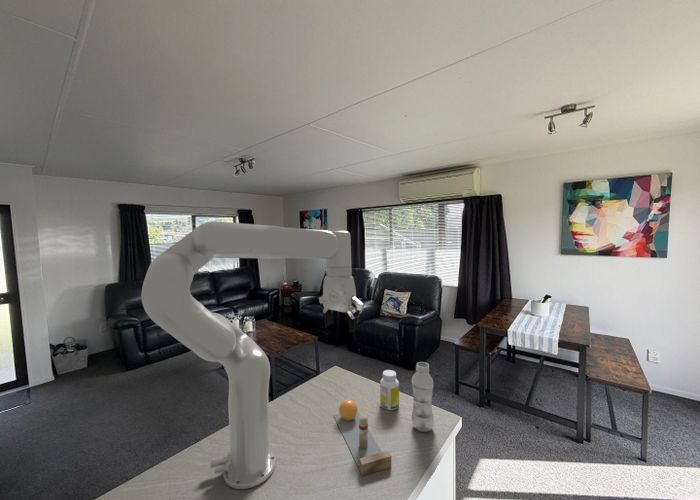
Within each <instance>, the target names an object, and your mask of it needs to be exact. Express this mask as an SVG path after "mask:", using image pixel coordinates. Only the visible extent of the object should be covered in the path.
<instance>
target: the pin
mask: <svg viewBox="0 0 700 500" xmlns="http://www.w3.org/2000/svg"><path fill="white" fill-rule="evenodd" d="M368 420H369V418H368V415H365V414H361V415H360V416H359V447H360V448H361V449H367V447H368V430H369V421H368Z"/></svg>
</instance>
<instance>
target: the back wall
mask: <svg viewBox="0 0 700 500" xmlns="http://www.w3.org/2000/svg"><path fill="white" fill-rule="evenodd" d="M390 468H392V455H391V453H390V451H389V450H385V451H382V452H381V453H377V454H374V455H370V456H367V457H363V458H360V459H359V467H358V469H359V470H358V471H359V472H360V475H361V476H362V477H365V476H367V475H371V474H374V473H378V472H380V471H383V470H387V469H390Z"/></svg>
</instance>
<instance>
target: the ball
mask: <svg viewBox="0 0 700 500" xmlns="http://www.w3.org/2000/svg"><path fill="white" fill-rule="evenodd" d="M338 407H339V408H338V413H339V414H340V416H341V417H342V418H343V419H344V420H346V421H350V420H353V419H354V418H355V417H356V415H357V412H358V410H359V409H358V406H357V404H356V402H355V401H354V400H352V399H349V398H348V399H345V400H343V401H342V402H341V403H340V405H339V406H338Z"/></svg>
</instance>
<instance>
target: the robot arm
mask: <svg viewBox="0 0 700 500" xmlns="http://www.w3.org/2000/svg"><path fill="white" fill-rule="evenodd" d="M351 238H352V237H351V233H350V232H349V231H348V230H332V231H331V230H324V229H313V228H312V229H311V228H310V229H309V228H297V227H296V228H295V227H285V226H279V225H271V224H270V225H267V224H255V223H254V224H253V223H243V222H229V221H228V222H227V221H207V222H204V223H201V224H199V225H198V226H197V227H195V228H194V229H193V230H192V231H190V232H189V233H187V234H186V235H185V236H183V237H182V238H181V239H180V240H178V241H177V242H175V243H174V244H172V245H171V246H170V247H169V248H167V249H166V250H164V251H163V252H161V253H160V254H158V256H156V257H155V258H154V259H152V261H151V263H150V264H149V267H148V269H147V271H146V274H145V277H144V280H143V283H142V286H141V287H142V288H141V303H142V307H143V309H144V312H145V313H146V315H147V316H148V317H149V319H151V321H153V323H154V324H156V325H158V327H160V328H161V329H162V330H164V331H165V332H166V333H168V334H170V336H172V337H173V338H174V339H176V340H177V341H178V342H180V343H181V344H182V345H184V346H185V347H186V348H188V349H189V350H190V351H192V352H193V353H194V354H196V355H197V356H198V358H201V359H202V360H205V361H208V362H215V363H216V362H218V363H220V365H222V366H223V368H224V369H225V372H226V374H227V376H228V396H227V397H228V400H227V402H228V403H227V404H228V406H227V407H228V409H227V410H228V433H229V434H228V437H229V439H228V440H229V449H228V453H225V454H224V455H223V456H219V457H215V458H211V459H210V466H209V467H210V469H214V474H218V473H221V472H223V480H224V482H225V483H226V485H228V487H230V488H232V489H235V490H246V489H251V488H254V487H257V486H259V485H260V484H262V483H264V482H265V481H266V480H267V479H268V478H269V477H270V476H271V475H272V473H274V471H275V468H276V464H277V458H276V454H275V452H274V451H273V450H272V449H270V418H269V417H270V414H269V411H270V410H269V409H270V408H269V407H270V406H269V388H270V387H269V385H270V376H271V364H270V361H269V357H268V356H267V353H265V352H264V350H263V349H262V348H261V347H260V345H258V344H257V343H256V342H255V341H254V340H253V339H252V338H251V337H249V335H247V334H246V333H245V332H244V331H242V329H240V328H239V327H237V325H235V324H234V323H232V322H231V321H230V320H229V319H228V318H226V317H225V316H224V315H222V314H220V313H216V312H212V311H210V310H209V309H208V308H206V307H205V306H204V304H202V303H201V302H200V301H198V300H197V299H196V298H195V297H194V296H193V295H192V293H191V285H192V282H193V279H194V275H195V273H197V272H198V271H199V270H200V269H202V268H203V267H205V266H206V265H207V264H208V263H209V262H210V261H211V260H213V259H219V258H220V259H221V258H222V259H268V260H269V259H270V260H276V259H306V260H307V259H308V260H309V259H312V260H313V259H314V260H316V259H319V260H320V259H321V260H325V263H326V266H325V269H324V271H325V272H326V276H324V280H323V286H322V288H323V289H322V295H321V296H319V297H318V300H319V303H320V308H321V309H322V312H323V314H324V326H326V327H329V326H332V325H333V324H334V311H336V312H340V313H347V315H348V316H349V317H350V318H349V319H348V330H349V333H354V332H356V331H357V330H358V328H359V323H358V321H359V319H358V318H359V317H360V315H362V313H363V310H364V308H365V303H363V302H362V301H361V300H360V299H358V298H357V292H356V291H357V290H356V284H355V279H354V276H352V274H353V273H352V245H351V242H352V240H351Z"/></svg>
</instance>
